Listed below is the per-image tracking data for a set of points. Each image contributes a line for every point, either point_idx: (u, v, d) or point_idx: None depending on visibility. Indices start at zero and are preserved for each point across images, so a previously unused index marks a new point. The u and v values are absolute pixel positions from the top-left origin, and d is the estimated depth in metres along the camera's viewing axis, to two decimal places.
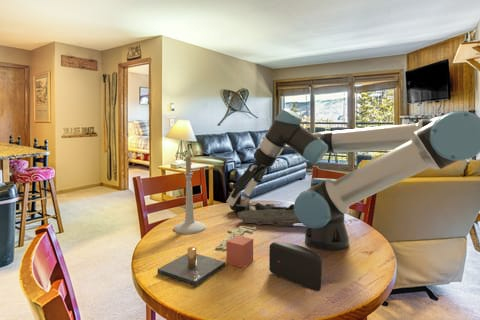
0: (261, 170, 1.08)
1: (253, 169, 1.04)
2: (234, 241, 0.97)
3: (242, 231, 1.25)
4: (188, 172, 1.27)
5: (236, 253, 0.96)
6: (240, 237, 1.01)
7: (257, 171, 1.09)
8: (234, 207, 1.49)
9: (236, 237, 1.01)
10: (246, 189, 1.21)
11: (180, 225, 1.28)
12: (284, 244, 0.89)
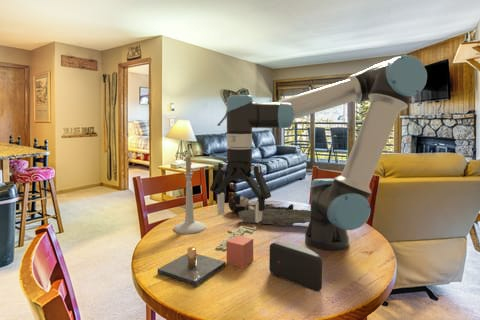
0: None
1: (260, 168, 0.93)
2: (234, 241, 0.97)
3: (242, 231, 1.25)
4: (188, 172, 1.27)
5: (236, 253, 0.96)
6: (240, 237, 1.01)
7: None
8: (233, 207, 1.49)
9: (236, 237, 1.01)
10: (220, 209, 1.00)
11: (180, 225, 1.28)
12: (284, 244, 0.88)
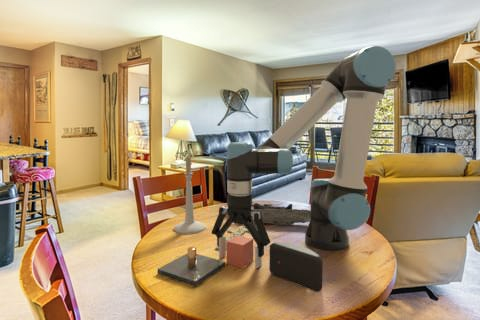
0: None
1: (260, 214, 0.94)
2: (234, 241, 0.97)
3: (242, 231, 1.25)
4: (188, 172, 1.27)
5: (236, 253, 0.96)
6: (240, 237, 1.01)
7: None
8: None
9: (236, 237, 1.01)
10: (221, 252, 1.02)
11: (180, 225, 1.28)
12: (284, 245, 0.88)
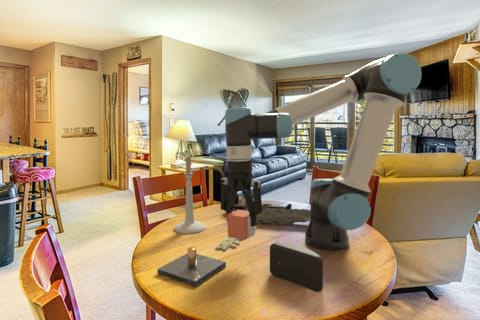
0: None
1: (260, 184, 0.93)
2: (235, 214, 0.96)
3: None
4: (188, 172, 1.27)
5: (237, 226, 0.95)
6: (241, 211, 1.00)
7: None
8: None
9: (237, 211, 1.00)
10: None
11: (180, 225, 1.28)
12: (285, 245, 0.88)
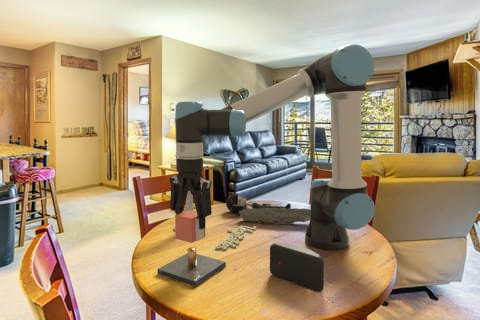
0: None
1: (210, 184, 0.88)
2: (183, 214, 0.91)
3: (242, 231, 1.25)
4: None
5: (185, 227, 0.89)
6: (192, 212, 0.94)
7: None
8: (231, 207, 1.49)
9: (187, 211, 0.94)
10: None
11: None
12: (285, 245, 0.88)
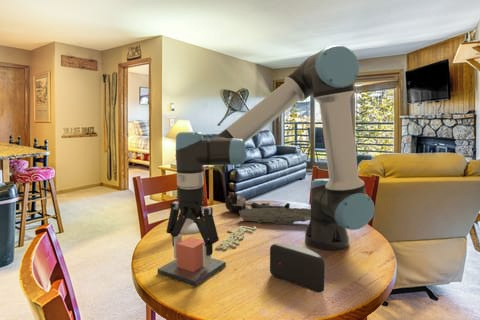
0: None
1: (211, 210, 0.89)
2: (185, 243, 0.92)
3: (242, 231, 1.25)
4: None
5: (186, 256, 0.90)
6: (193, 239, 0.95)
7: None
8: (230, 207, 1.50)
9: (189, 239, 0.95)
10: None
11: None
12: (285, 246, 0.87)
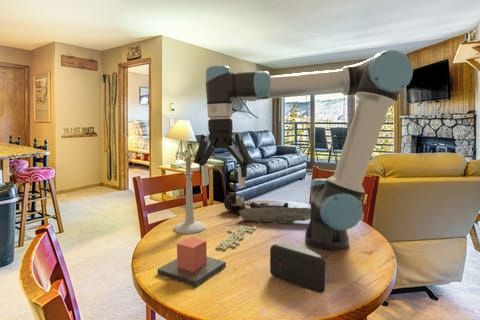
0: None
1: (241, 136, 0.96)
2: (185, 243, 0.92)
3: (242, 231, 1.25)
4: (188, 172, 1.27)
5: (186, 256, 0.90)
6: (193, 239, 0.95)
7: None
8: (229, 207, 1.50)
9: (189, 239, 0.95)
10: (204, 180, 1.03)
11: (180, 225, 1.28)
12: (285, 246, 0.87)
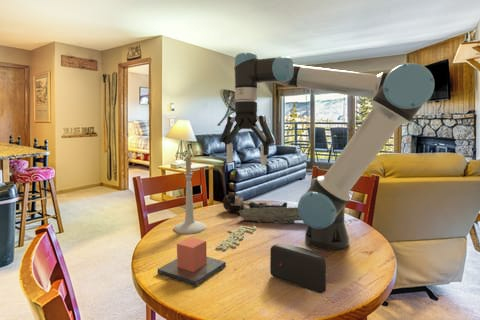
0: None
1: (264, 117, 1.06)
2: (185, 243, 0.92)
3: (242, 231, 1.25)
4: (188, 172, 1.27)
5: (186, 256, 0.90)
6: (193, 239, 0.95)
7: None
8: (228, 206, 1.50)
9: (189, 239, 0.95)
10: (229, 157, 1.13)
11: (180, 225, 1.28)
12: (286, 246, 0.87)
